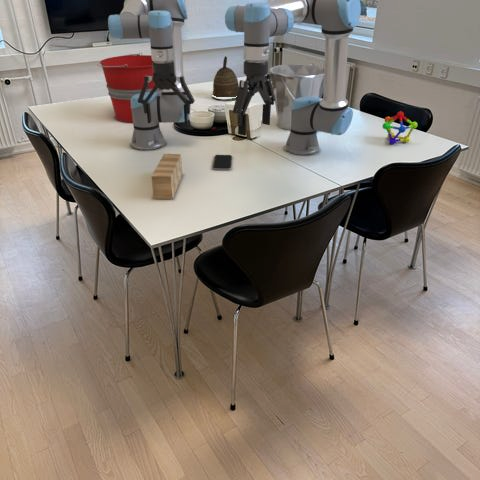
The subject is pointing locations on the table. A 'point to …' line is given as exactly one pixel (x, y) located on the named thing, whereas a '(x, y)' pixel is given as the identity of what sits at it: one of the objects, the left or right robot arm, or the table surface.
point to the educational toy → (398, 128)
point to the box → (167, 176)
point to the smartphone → (222, 162)
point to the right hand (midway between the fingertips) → (254, 129)
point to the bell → (225, 82)
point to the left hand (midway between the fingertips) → (168, 122)
